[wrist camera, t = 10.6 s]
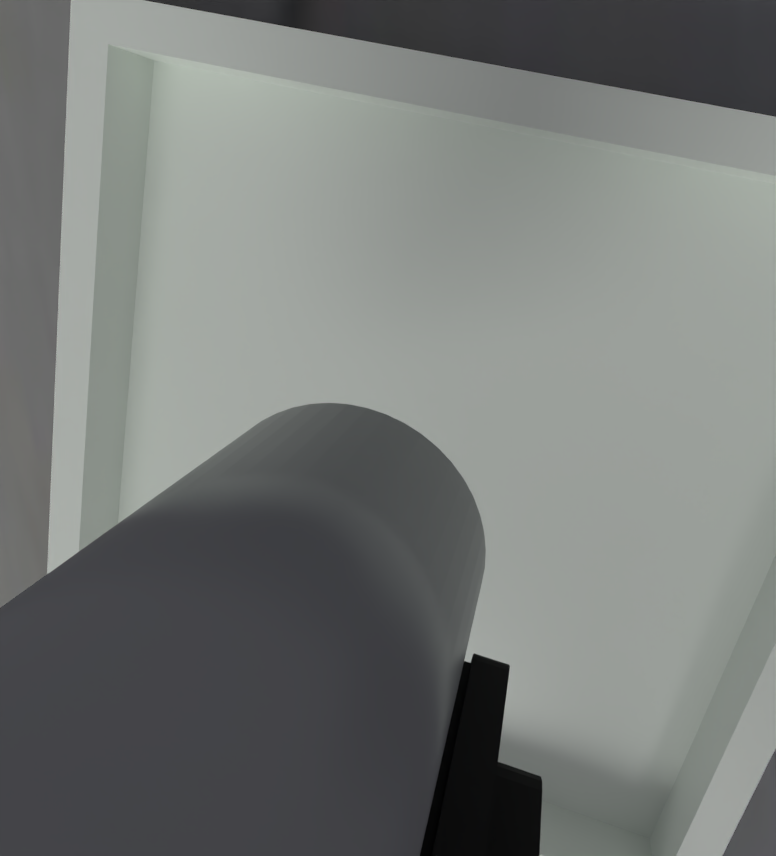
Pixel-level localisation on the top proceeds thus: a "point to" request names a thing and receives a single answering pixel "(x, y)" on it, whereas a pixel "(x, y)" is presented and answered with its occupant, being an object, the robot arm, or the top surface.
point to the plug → (249, 654)
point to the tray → (457, 361)
